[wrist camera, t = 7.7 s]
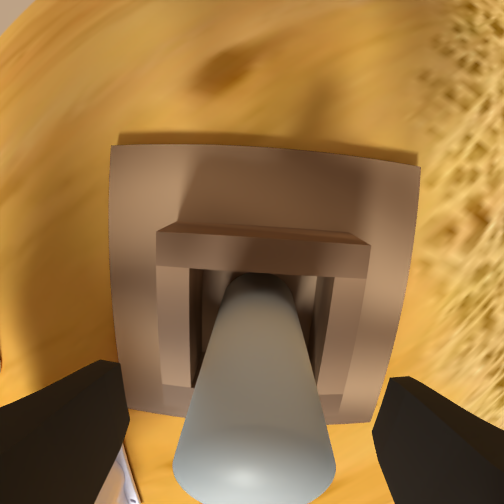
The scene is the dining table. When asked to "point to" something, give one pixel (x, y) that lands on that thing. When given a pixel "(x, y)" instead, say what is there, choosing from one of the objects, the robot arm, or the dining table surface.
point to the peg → (255, 406)
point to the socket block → (257, 261)
